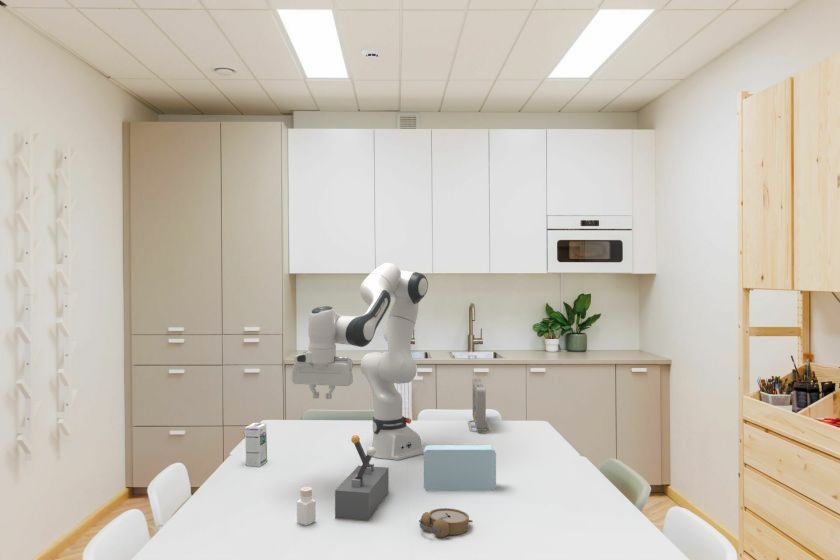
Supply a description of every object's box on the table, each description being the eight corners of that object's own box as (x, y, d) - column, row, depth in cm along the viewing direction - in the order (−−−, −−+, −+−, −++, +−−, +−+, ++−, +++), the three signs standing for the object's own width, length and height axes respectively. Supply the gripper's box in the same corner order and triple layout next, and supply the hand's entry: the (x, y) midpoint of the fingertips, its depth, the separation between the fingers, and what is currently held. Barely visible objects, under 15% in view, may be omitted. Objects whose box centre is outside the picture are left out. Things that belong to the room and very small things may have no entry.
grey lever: (351, 482, 171) (367, 446, 169) (354, 479, 173) (370, 444, 172) (359, 486, 170) (375, 451, 169) (362, 483, 173) (378, 448, 172)
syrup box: (260, 467, 212) (259, 427, 212) (245, 466, 213) (244, 426, 213) (267, 462, 217) (267, 423, 217) (252, 461, 219) (252, 422, 218)
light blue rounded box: (493, 484, 194) (493, 444, 194) (496, 490, 188) (496, 449, 188) (423, 484, 194) (423, 444, 194) (423, 490, 188) (423, 449, 188)
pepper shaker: (307, 518, 167) (307, 485, 167) (316, 521, 165) (316, 488, 165) (296, 522, 164) (295, 489, 164) (305, 526, 162) (305, 492, 162)
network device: (490, 434, 254) (490, 388, 254) (470, 434, 254) (470, 388, 254) (485, 419, 279) (485, 378, 279) (466, 419, 279) (466, 378, 279)
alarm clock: (478, 518, 161) (437, 522, 151) (476, 536, 160) (435, 542, 151) (451, 505, 169) (411, 509, 160) (448, 523, 169) (408, 527, 160)
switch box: (335, 518, 167) (334, 483, 167) (358, 490, 189) (358, 459, 189) (368, 521, 165) (368, 485, 165) (388, 492, 187) (388, 461, 187)
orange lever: (364, 473, 181) (348, 438, 182) (366, 470, 184) (351, 435, 185) (371, 470, 181) (356, 435, 182) (373, 467, 183) (358, 432, 184)
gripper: (355, 355, 192) (355, 397, 193) (297, 354, 197) (297, 395, 197) (349, 358, 186) (349, 401, 186) (289, 356, 190) (289, 399, 191)
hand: (322, 398), depth 192 cm, fingers open, 3 cm apart
